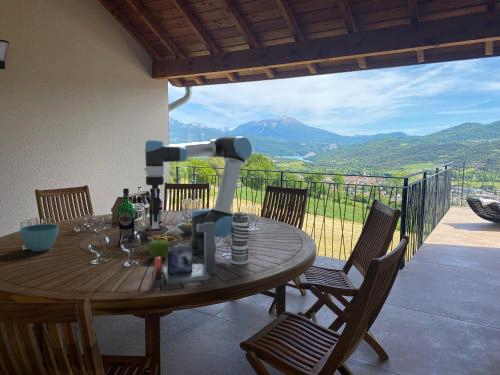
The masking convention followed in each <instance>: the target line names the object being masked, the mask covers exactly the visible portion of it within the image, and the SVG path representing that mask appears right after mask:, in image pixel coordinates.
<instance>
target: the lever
mask: <svg viewBox="0 0 500 375" xmlns="http://www.w3.org/2000/svg"><path fill="white" fill-rule="evenodd" d="M162 261H163V259H162V257H155V258H154V270H155V275H154V277H153V282H154V283H155V280H160V279H163V280H164V274H163V265H162V264H163V263H162Z"/></svg>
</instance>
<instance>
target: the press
mask: <svg viewBox="0 0 500 375" xmlns="http://www.w3.org/2000/svg"><path fill="white" fill-rule="evenodd" d="M197 232H204V254H203V255H204V256H203V262H204V263H200V262H199V263H192V273H178V274H168V270H167V268H168V266H162V275H163V279H160V280H155V282H154V285H155V287H156V288H157V287H163V286H164V280H165V284H166V285H171V284H179V283H187V282H188V283H190V282H196V281H207V280H209V279H210V275H213V274H216V272H215V271H216V270H215V269H216V264H215V263H216V261H215V260H216V259H215V258H216V251H215V244H216V237H215V223H214V222H204V224H197ZM154 275H155V269H152V276H153V277H152V278H154Z"/></svg>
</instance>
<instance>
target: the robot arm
mask: <svg viewBox="0 0 500 375" xmlns="http://www.w3.org/2000/svg"><path fill="white" fill-rule="evenodd" d="M144 152H145V155H144V156H145V168H144V171H145V175H146V176H145V184H146V186H151V188H150V189H149V192H150V198H151V213H150V215H151V229H152V230H159V229H160V225H159V224H160V222H159V221H160V220H159V218H160V217H159V214H160V213H161V212H160V208H159V207H160V193H161V189H160V188H159V186H162V185H164V183H165V182H164V174H165V173H164V171H165V170H164V166H165V165H164V163H182V162H185V161H186V160H187V159H188V158H189V159H190V158H191V159H192V158H198V157H208V158H223V159H222V160H224V166H223V171H222V175H221V179H220V182H219V183H220V184H219V188H218V191H217V192H218V193H217V196H216V200H215V205H214V206H213V207H212V208H203V209H202V208H201V209H195V210H193V211H192V212H191V238H190V241H189V245H188V246H191V247H192V250H193V252H192V255H193V254H194V255H204V232H197V224H204V222H214V223H215V238H221V239H225V238H228V237H229V236H231V233H232V232H231V226H232V221H233V216H232V215H233V214H234V213H233V212H232V207H233V206H232V205H233V203H234V197H235V194H236V189H237V185H238V181H239V176H240V172H241V167H242V166H243V165H245V162H246V160H247V159H249V158H250V157H251V156H252V154H253V147H252V144H251V141H250V140H249V139H248V138H247V137H245V136H223V137H217V138H212V139H207V140H206V141H198V142H186V143H173V144H172V143H171V144H164V142H163V140H157V139H156V140H154V139H153V140H151V139H150V140H146V142H145V149H144ZM216 251H217V244H216V243H215V252H216Z"/></svg>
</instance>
